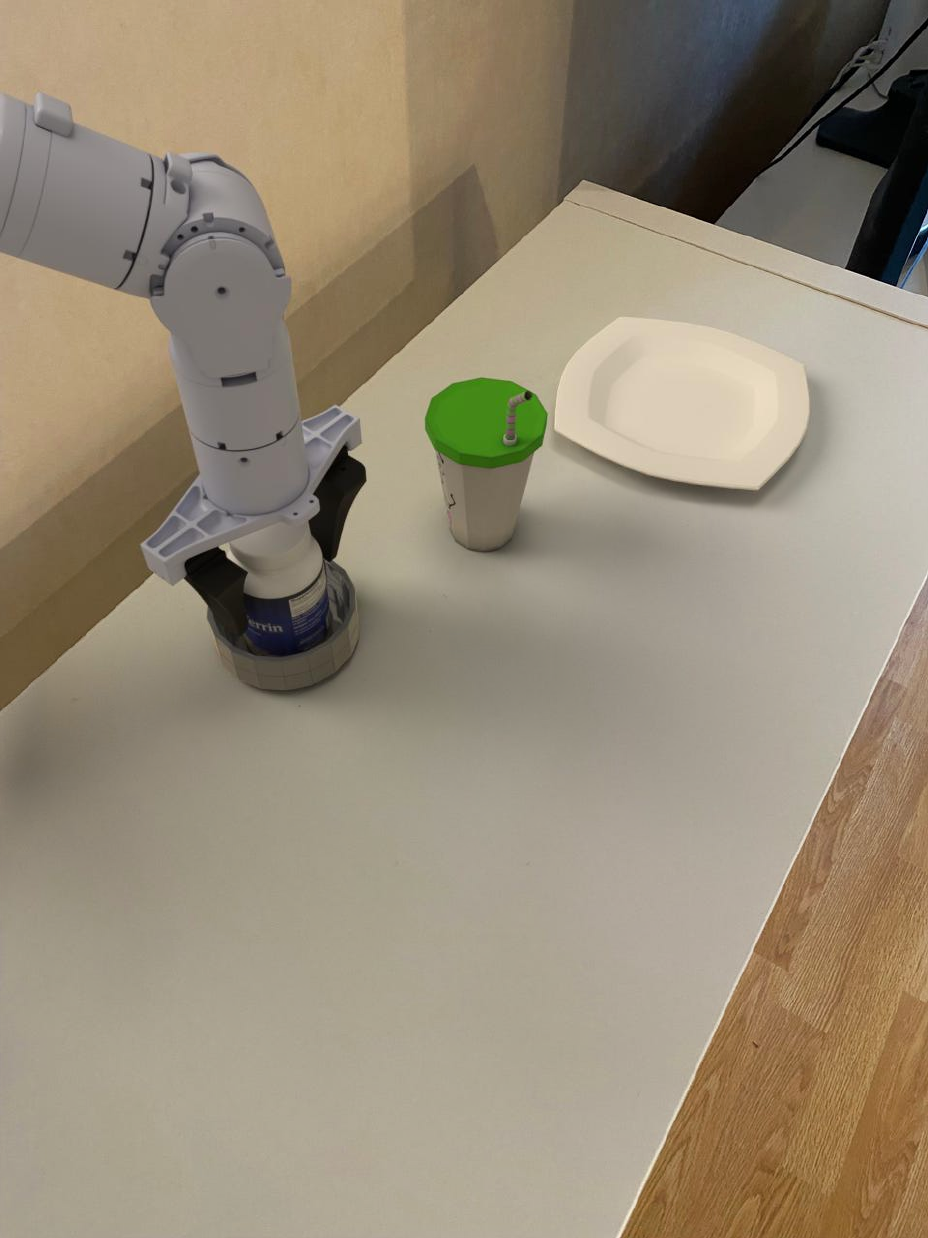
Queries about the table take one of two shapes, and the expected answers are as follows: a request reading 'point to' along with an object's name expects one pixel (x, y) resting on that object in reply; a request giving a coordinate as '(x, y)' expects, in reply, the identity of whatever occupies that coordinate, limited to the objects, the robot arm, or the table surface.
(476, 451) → the cup
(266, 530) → the pill bottle
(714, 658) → the table surface
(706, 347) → the plate
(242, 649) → the bowl
